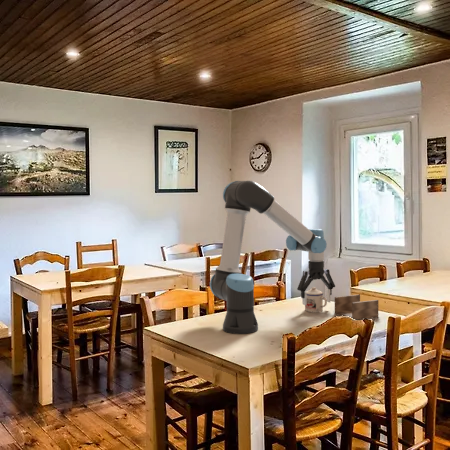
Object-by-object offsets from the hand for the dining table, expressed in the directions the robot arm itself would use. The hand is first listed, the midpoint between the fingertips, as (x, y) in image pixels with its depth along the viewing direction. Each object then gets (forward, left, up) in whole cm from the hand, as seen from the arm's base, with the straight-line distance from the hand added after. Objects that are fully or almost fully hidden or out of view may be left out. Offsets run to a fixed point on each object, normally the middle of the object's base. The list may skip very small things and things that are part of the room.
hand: (316, 303), depth 264 cm
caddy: (+12, -16, -4) cm, 20 cm away
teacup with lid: (0, 0, -4) cm, 4 cm away
